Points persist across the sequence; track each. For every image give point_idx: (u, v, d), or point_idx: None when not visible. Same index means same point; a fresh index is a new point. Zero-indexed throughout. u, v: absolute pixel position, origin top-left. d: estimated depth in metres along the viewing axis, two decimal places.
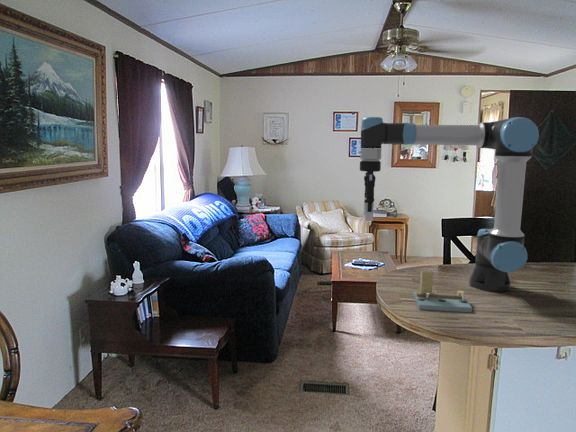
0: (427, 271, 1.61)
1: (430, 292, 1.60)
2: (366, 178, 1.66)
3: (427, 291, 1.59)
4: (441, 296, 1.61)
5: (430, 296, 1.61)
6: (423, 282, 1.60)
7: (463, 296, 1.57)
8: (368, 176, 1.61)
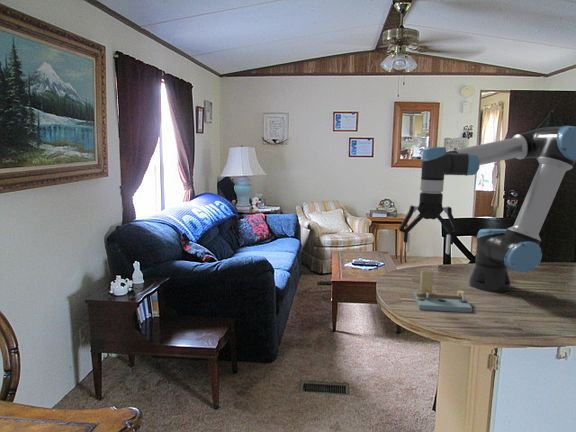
0: (427, 271, 1.61)
1: (430, 292, 1.60)
2: None
3: (427, 291, 1.59)
4: (441, 296, 1.61)
5: (430, 296, 1.61)
6: (423, 282, 1.60)
7: (463, 296, 1.57)
8: None
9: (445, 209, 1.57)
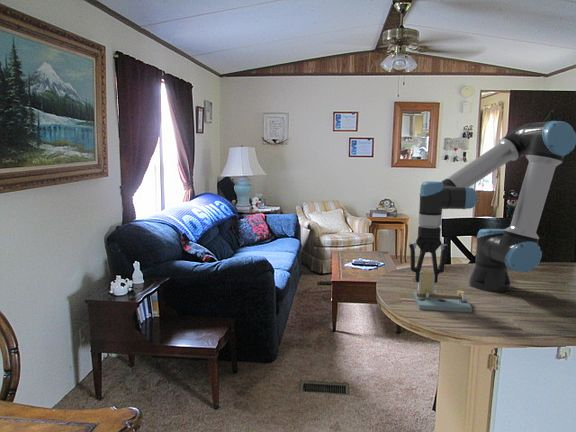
0: (427, 271, 1.61)
1: (430, 292, 1.60)
2: None
3: (427, 291, 1.59)
4: (441, 296, 1.61)
5: (430, 296, 1.61)
6: (423, 282, 1.60)
7: (463, 296, 1.57)
8: (409, 245, 1.61)
9: (442, 245, 1.59)
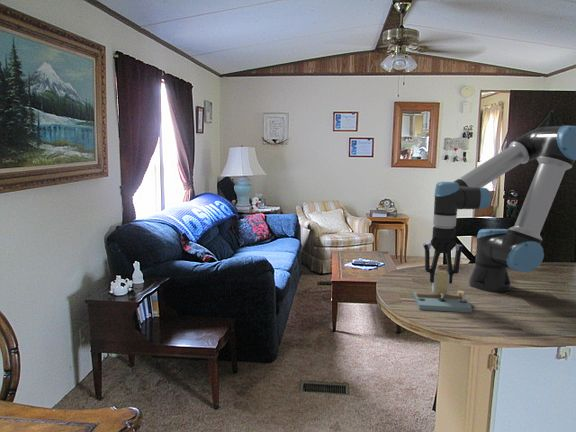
0: (442, 272, 1.60)
1: (445, 293, 1.60)
2: None
3: (441, 292, 1.58)
4: None
5: (430, 296, 1.61)
6: (438, 283, 1.59)
7: (463, 296, 1.57)
8: None
9: (457, 246, 1.58)
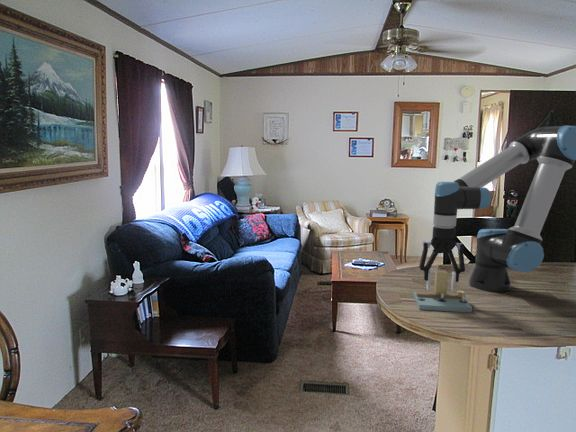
0: (442, 272, 1.60)
1: (445, 293, 1.60)
2: None
3: (441, 292, 1.58)
4: None
5: (430, 296, 1.61)
6: (438, 283, 1.59)
7: (463, 296, 1.57)
8: (423, 243, 1.61)
9: (458, 245, 1.58)
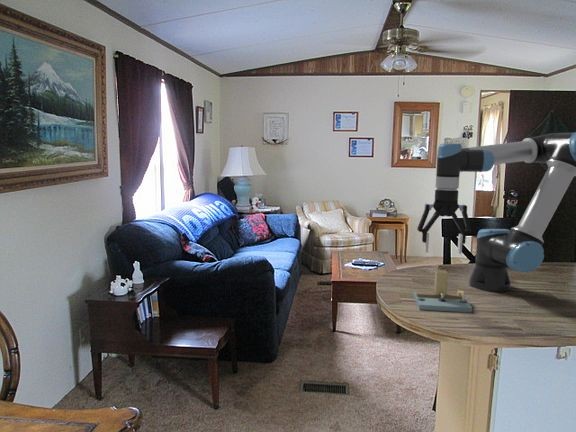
0: (442, 272, 1.60)
1: (445, 293, 1.60)
2: None
3: (441, 292, 1.58)
4: None
5: (430, 296, 1.61)
6: (438, 283, 1.59)
7: (463, 296, 1.57)
8: (425, 205, 1.59)
9: (461, 207, 1.56)
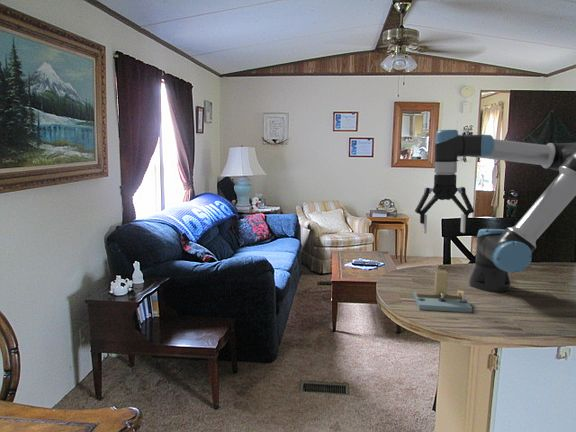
0: (442, 272, 1.60)
1: (445, 293, 1.60)
2: None
3: (441, 292, 1.58)
4: None
5: (430, 296, 1.61)
6: (438, 283, 1.59)
7: (463, 296, 1.57)
8: (425, 189, 1.65)
9: (459, 189, 1.63)
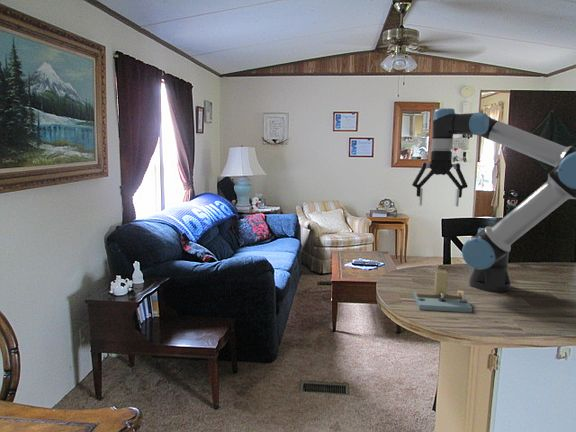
0: (442, 272, 1.60)
1: (445, 293, 1.60)
2: None
3: (441, 292, 1.58)
4: None
5: (430, 296, 1.61)
6: (438, 283, 1.59)
7: (463, 296, 1.57)
8: (422, 164, 1.76)
9: (454, 165, 1.74)
